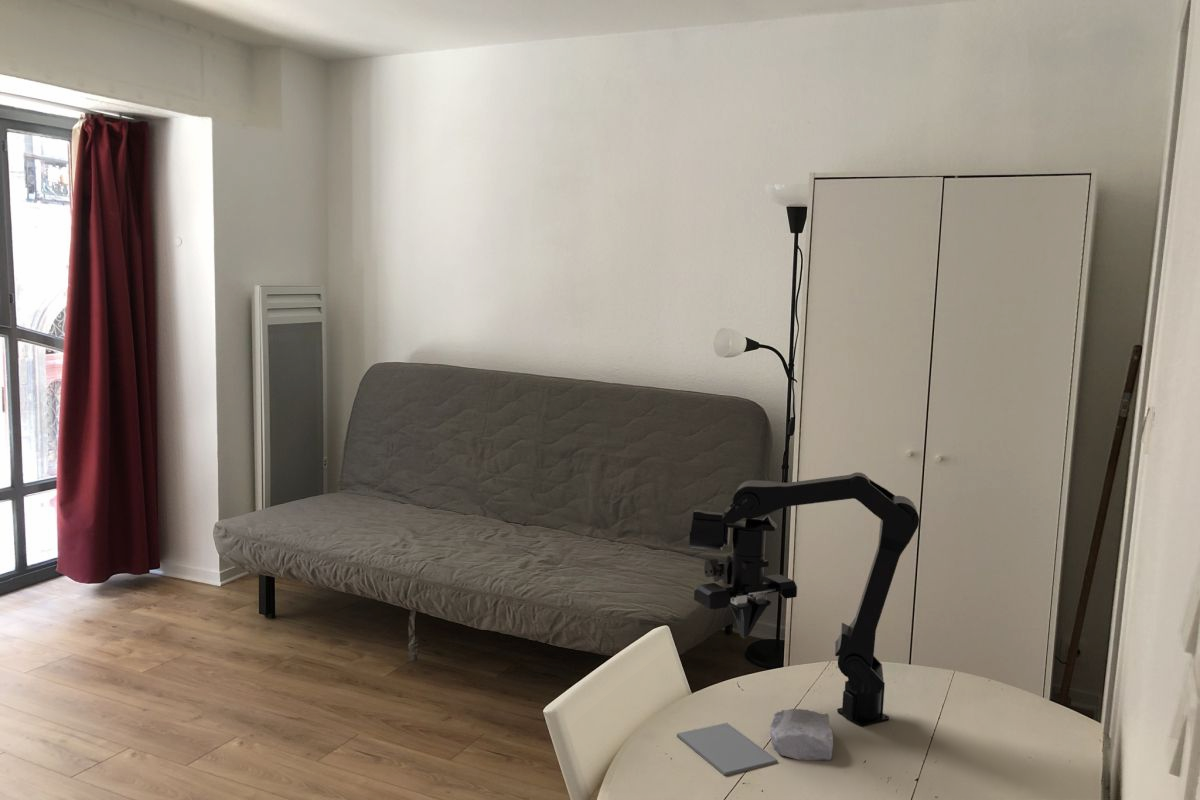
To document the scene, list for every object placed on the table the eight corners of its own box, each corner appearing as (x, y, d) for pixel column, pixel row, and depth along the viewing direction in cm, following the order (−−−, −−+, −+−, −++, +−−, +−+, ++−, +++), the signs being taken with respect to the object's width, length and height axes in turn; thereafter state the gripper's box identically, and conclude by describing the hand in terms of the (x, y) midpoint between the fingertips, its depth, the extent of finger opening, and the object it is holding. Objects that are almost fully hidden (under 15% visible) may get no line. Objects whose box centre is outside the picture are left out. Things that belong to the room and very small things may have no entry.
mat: (726, 725, 161) (727, 722, 161) (777, 762, 149) (777, 759, 149) (676, 736, 157) (676, 733, 157) (724, 775, 145) (724, 772, 144)
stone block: (774, 767, 150) (838, 762, 149) (770, 738, 150) (834, 732, 149) (771, 735, 162) (830, 730, 161) (767, 708, 162) (826, 703, 161)
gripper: (763, 536, 179) (759, 616, 181) (679, 546, 171) (676, 629, 173) (801, 551, 169) (796, 636, 171) (713, 562, 161) (709, 651, 163)
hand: (744, 637), depth 170 cm, fingers closed
